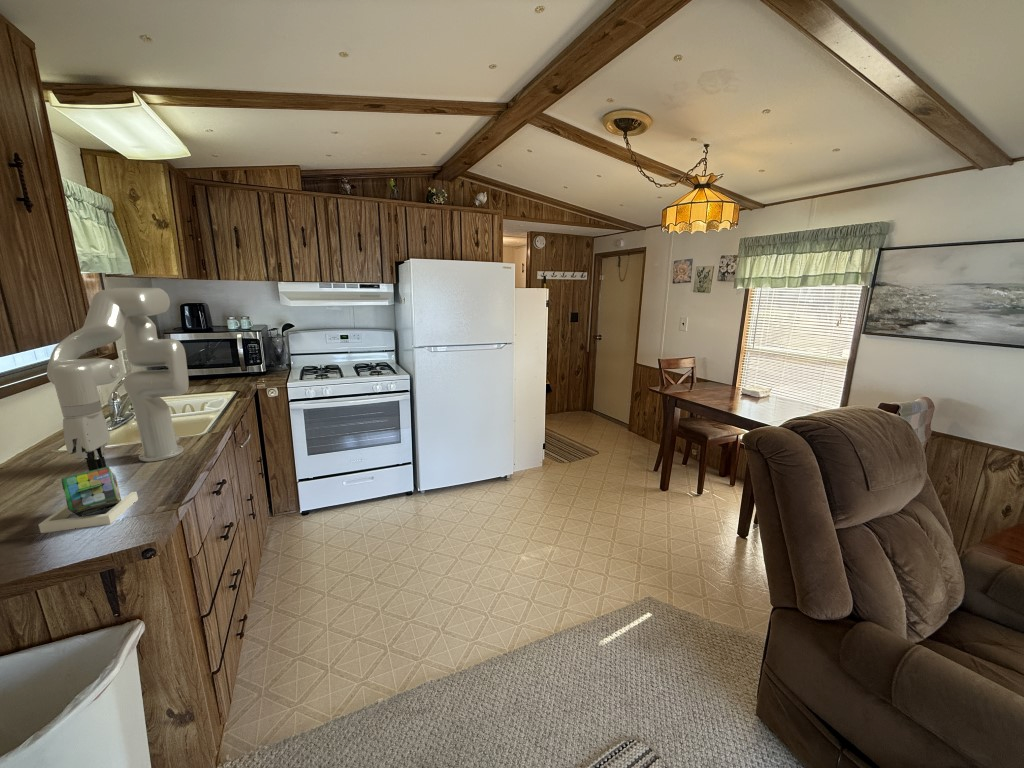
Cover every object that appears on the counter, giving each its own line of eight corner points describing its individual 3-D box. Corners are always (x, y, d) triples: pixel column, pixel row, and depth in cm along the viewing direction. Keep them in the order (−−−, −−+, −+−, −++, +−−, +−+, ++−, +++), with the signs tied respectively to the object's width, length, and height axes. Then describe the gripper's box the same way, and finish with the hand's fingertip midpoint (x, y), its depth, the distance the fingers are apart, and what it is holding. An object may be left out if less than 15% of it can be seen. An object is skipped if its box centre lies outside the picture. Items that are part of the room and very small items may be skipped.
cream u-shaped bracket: (76, 506, 117) (74, 498, 116) (138, 499, 121) (136, 491, 120) (41, 533, 105) (38, 524, 104) (110, 523, 109) (108, 515, 108)
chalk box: (115, 474, 119) (108, 461, 109) (123, 504, 118) (116, 494, 107) (69, 486, 113) (56, 473, 102) (77, 518, 112) (65, 508, 101)
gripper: (83, 402, 118) (99, 462, 122) (43, 419, 104) (62, 485, 108) (115, 400, 120) (129, 459, 124) (80, 416, 106) (97, 481, 110)
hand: (98, 471), depth 116 cm, fingers closed
